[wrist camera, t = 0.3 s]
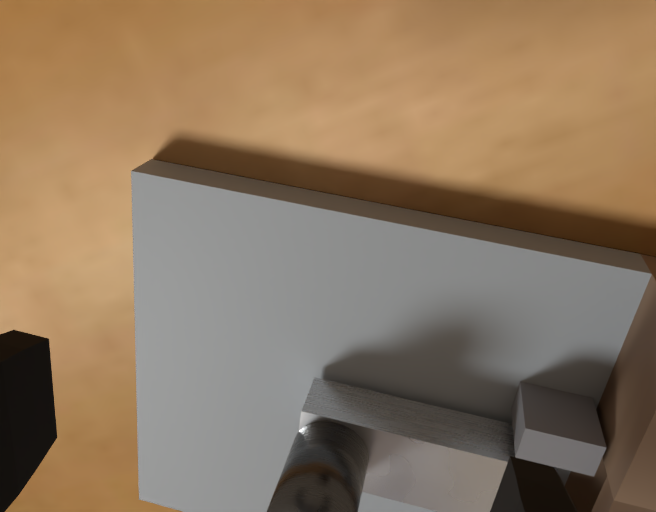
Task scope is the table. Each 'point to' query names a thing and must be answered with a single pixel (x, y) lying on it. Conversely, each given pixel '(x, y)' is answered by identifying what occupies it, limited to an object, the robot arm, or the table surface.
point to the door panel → (352, 328)
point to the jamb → (627, 422)
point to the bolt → (390, 454)
